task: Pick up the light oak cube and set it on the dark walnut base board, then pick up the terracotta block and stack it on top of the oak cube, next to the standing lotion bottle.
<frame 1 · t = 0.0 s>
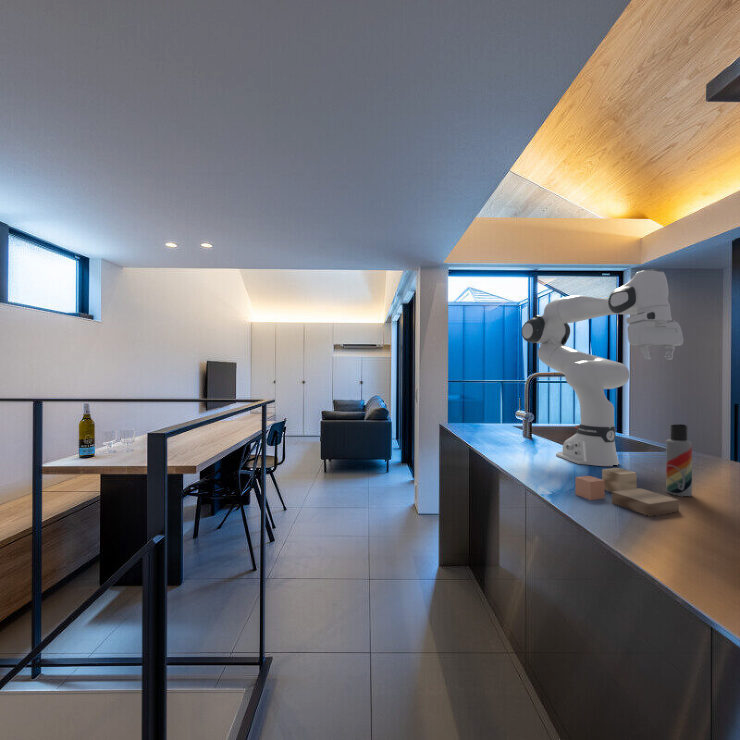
hand: (658, 359, 125), 39 cm above the table, tool pointing down, fingers open, 8 cm apart
lotion bottle: (678, 494, 109), on the table
walnut base: (644, 507, 98), on the table
terracotta block: (589, 496, 107), on the table
oak cube: (619, 491, 112), on the table
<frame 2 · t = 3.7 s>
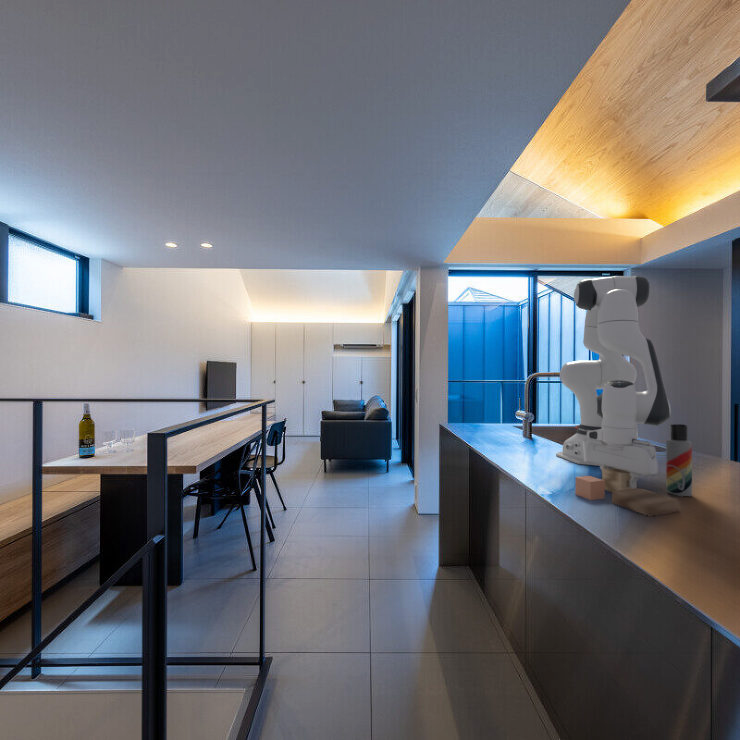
hand: (619, 483, 112), 2 cm above the table, tool pointing down, fingers closed on oak cube, 6 cm apart
oak cube: (619, 491, 112), on the table, touching gripper
everything else where it was.
when the fingers open (6 cm above the table, at t = 8.5 s): oak cube stays where it is, resting on walnut base.
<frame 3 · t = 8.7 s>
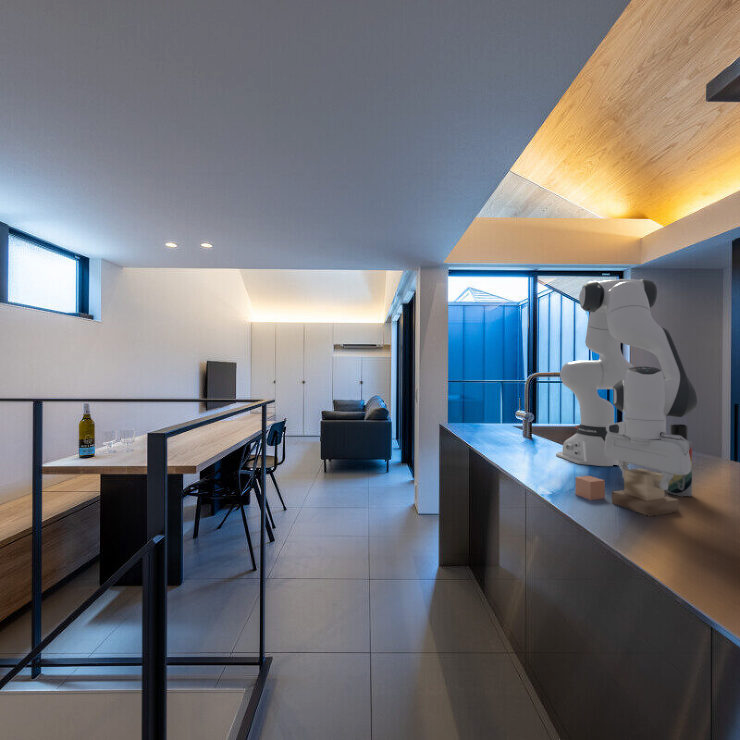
hand: (644, 483, 99), 6 cm above the table, tool pointing down, fingers open, 8 cm apart
oak cube: (643, 495, 99), point 3 cm above the table, touching walnut base
everything else where it was.
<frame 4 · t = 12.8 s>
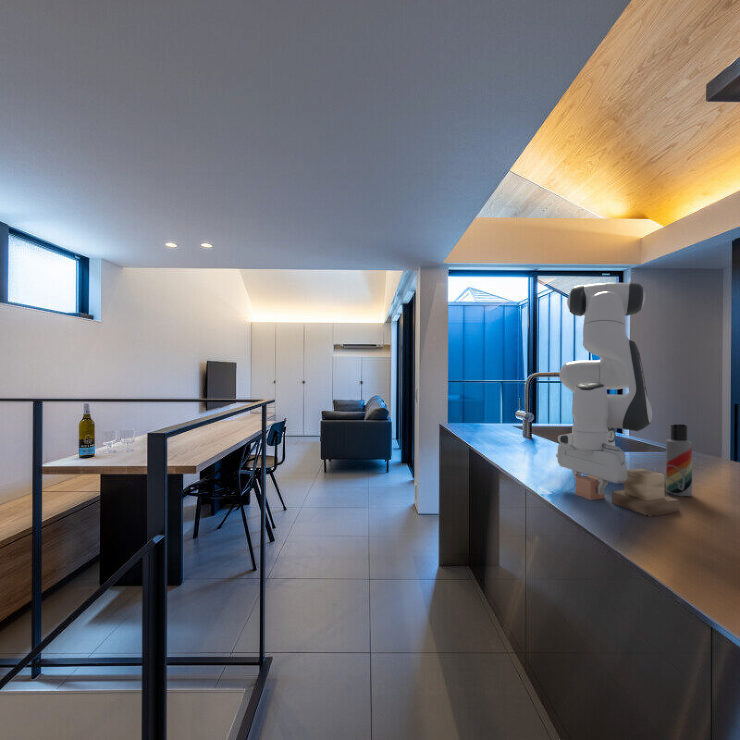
hand: (589, 490, 107), 2 cm above the table, tool pointing down, fingers closed on terracotta block, 5 cm apart
terracotta block: (589, 496, 107), on the table, touching gripper
everything else where it was.
when the fingers open (12 cm above the table, at t = 17.7 s): terracotta block stays where it is, resting on oak cube.
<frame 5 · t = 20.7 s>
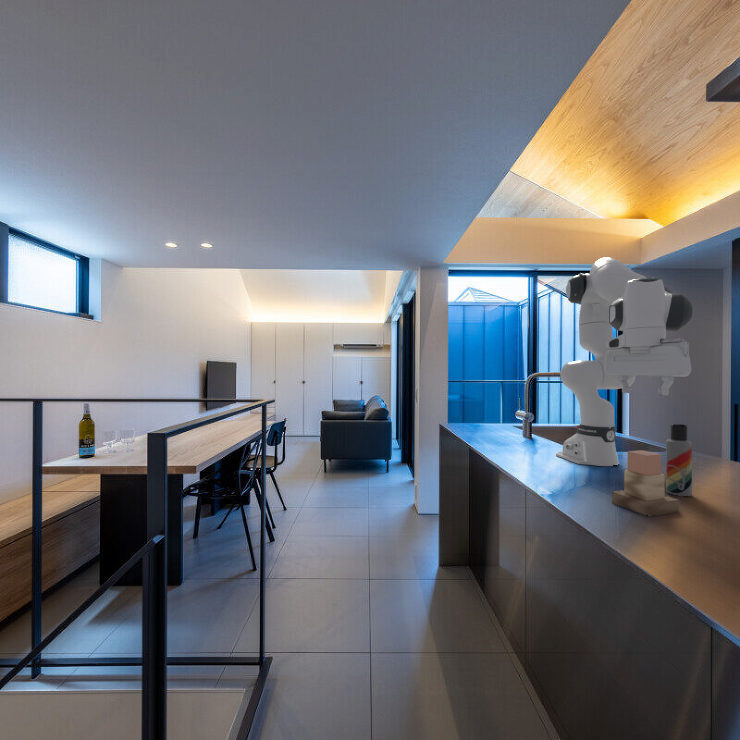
hand: (644, 394, 98), 29 cm above the table, tool pointing down, fingers open, 8 cm apart
terracotta block: (643, 472, 99), point 9 cm above the table, touching oak cube
oak cube: (643, 495, 99), point 3 cm above the table, touching terracotta block, walnut base
everything else where it was.
at the end: oak cube 0.1 cm off-centre on the walnut base, point 3.0 cm above the walnut base's base; terracotta block 0.0 cm off-centre on the oak cube, point 6.0 cm above the oak cube's base; terracotta block tilted 0° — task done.
